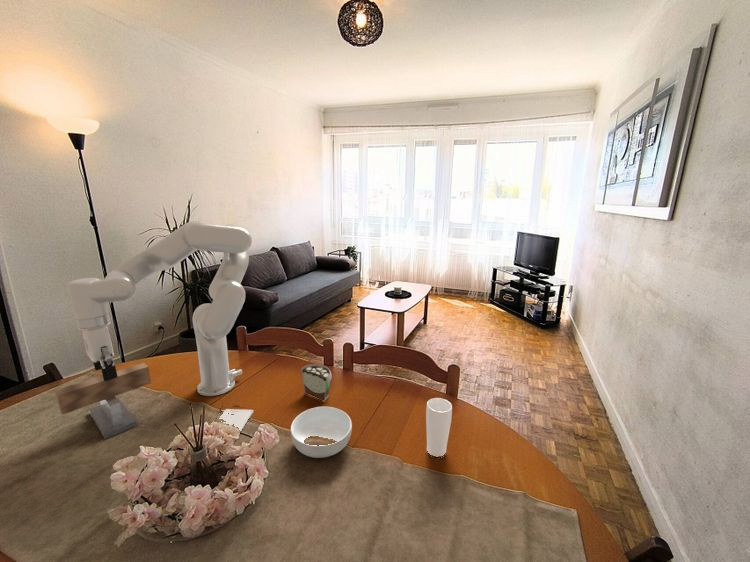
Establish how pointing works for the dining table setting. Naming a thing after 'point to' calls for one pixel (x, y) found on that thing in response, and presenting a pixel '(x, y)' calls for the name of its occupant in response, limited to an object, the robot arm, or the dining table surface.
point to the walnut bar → (101, 388)
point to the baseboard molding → (236, 417)
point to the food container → (316, 380)
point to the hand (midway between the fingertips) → (106, 373)
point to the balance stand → (112, 417)
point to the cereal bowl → (321, 430)
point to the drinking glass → (438, 425)
